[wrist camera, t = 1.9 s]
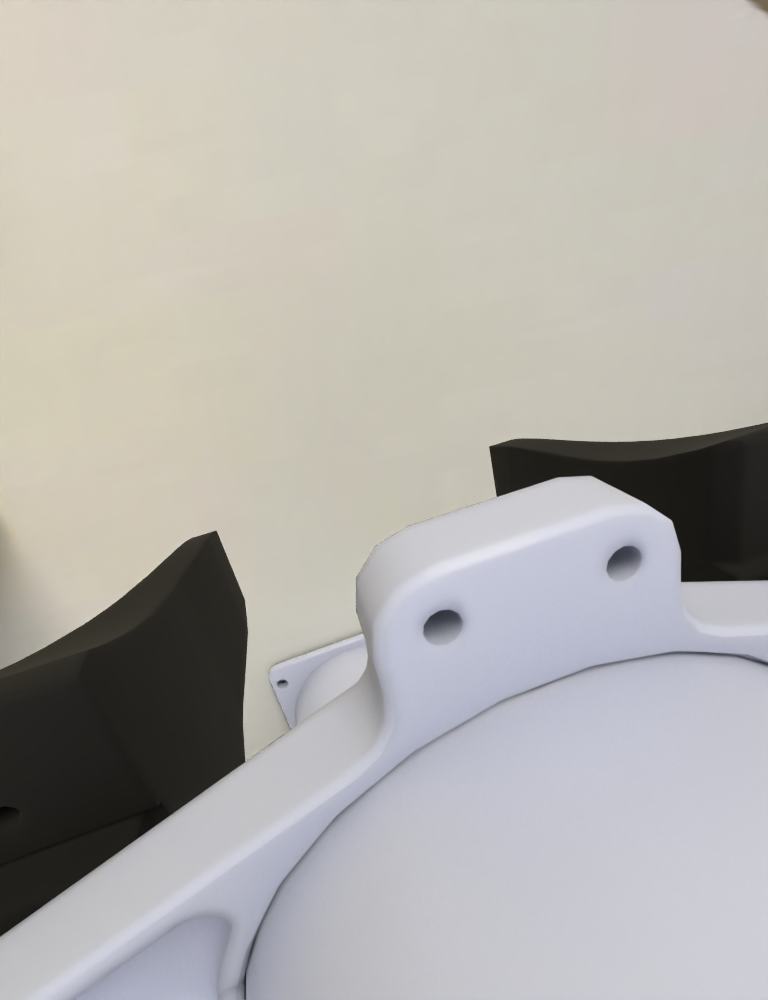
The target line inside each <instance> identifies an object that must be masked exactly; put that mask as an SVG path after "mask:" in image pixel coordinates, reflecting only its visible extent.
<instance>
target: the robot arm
mask: <svg viewBox="0 0 768 1000" xmlns="http://www.w3.org/2000/svg"><path fill="white" fill-rule="evenodd" d="M489 448H490V455H491V461H492V468H493V475H494V481H495V488H496V494H497V497H496V498H492V499H489V500H486V501H483V502H480V503H477V504H474V505H471V506H468V507H465V508H461V509H458V510H455V511H452V512H449V513H446V514H443V515H440V516H437V517H434V518H430V519H427V520H424V521H421V522H418V523H415V524H412V525H409V526H407V527H406V528H404V529H402V530H401V531H399V532H397V533H396V534H394V535H392V536H391V537H389V538H387V539H386V540H384V541H383V542H381V543H379V544H378V545H376V546H375V548H374V549H373V551H372V553H371V554H370V556H369V557H368V559H367V561H366V562H365V564H364V566H363V567H362V569H361V570H360V572H359V574H358V575H357V577H356V612H357V615H358V619H359V622H360V625H361V628H362V632H363V633H362V634H359V635H357V636H354V637H351V638H348V639H345V640H343V641H340V642H337V643H334V644H332V645H329V646H326V647H323V648H320V649H318V650H315V651H312V652H309V653H306V654H304V655H301V656H298V657H295V658H292V659H290V660H287V661H284V662H281V663H279V664H276V665H274V666H272V667H271V668H270V670H269V680H270V682H271V685H272V687H273V689H274V692H275V694H276V696H277V699H278V701H279V704H280V706H281V708H282V711H283V713H284V715H285V718H286V720H287V722H288V725H289V727H290V729H291V730H289V731H288V732H287V733H285V734H284V735H282V736H281V737H280V738H278V739H277V740H275V741H274V742H272V743H271V744H270V745H268V746H267V747H265V748H264V749H263V750H261V751H260V752H258V753H257V754H256V755H254V756H253V757H251V758H250V759H249V760H247V761H246V762H245V752H244V734H243V699H244V684H245V670H246V655H247V638H248V628H247V616H246V607H245V599H244V597H243V594H242V592H241V589H240V587H239V584H238V582H237V580H236V577H235V575H234V572H233V570H232V567H231V565H230V563H229V560H228V558H227V555H226V553H225V550H224V548H223V546H222V543H221V541H220V538H219V536H218V533H217V531H214V532H210V533H207V534H204V535H201V536H197V537H194V538H191V539H189V540H187V541H186V542H185V543H183V544H182V545H181V546H180V547H179V548H177V549H176V550H175V551H174V552H173V553H172V554H171V555H170V556H169V557H168V558H167V559H165V560H164V561H163V562H162V563H161V564H160V565H159V566H158V567H157V568H156V569H155V570H154V571H152V572H151V573H150V574H149V575H148V576H147V577H146V578H144V579H143V580H142V581H141V582H140V583H139V584H137V585H136V586H135V587H134V588H133V589H131V590H130V591H129V592H128V593H127V594H126V595H124V596H123V597H122V598H121V599H119V600H118V601H117V602H115V603H114V604H113V605H111V606H110V607H109V608H107V609H106V610H105V611H103V612H102V613H100V614H99V615H97V616H96V617H94V618H93V619H92V620H90V621H89V622H87V623H85V624H84V625H82V626H81V627H79V628H77V629H76V630H74V631H72V632H71V633H69V634H67V635H65V636H64V637H62V638H60V639H59V640H57V641H55V642H53V643H52V644H50V645H48V646H47V647H45V648H43V649H41V650H39V651H37V652H36V653H34V654H32V655H30V656H28V657H26V658H24V659H22V660H20V661H18V662H16V663H14V664H12V665H10V666H7V667H5V668H3V669H1V670H0V1000H768V423H764V424H760V425H755V426H750V427H745V428H740V429H735V430H730V431H725V432H719V433H713V434H707V435H700V436H692V437H684V438H676V439H666V440H655V441H636V442H588V441H568V440H551V439H514V440H509V441H506V442H503V443H499V444H496V445H493V446H490V447H489ZM280 680H286V682H285V683H282V684H280V683H278V682H279V681H280Z"/></svg>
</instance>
